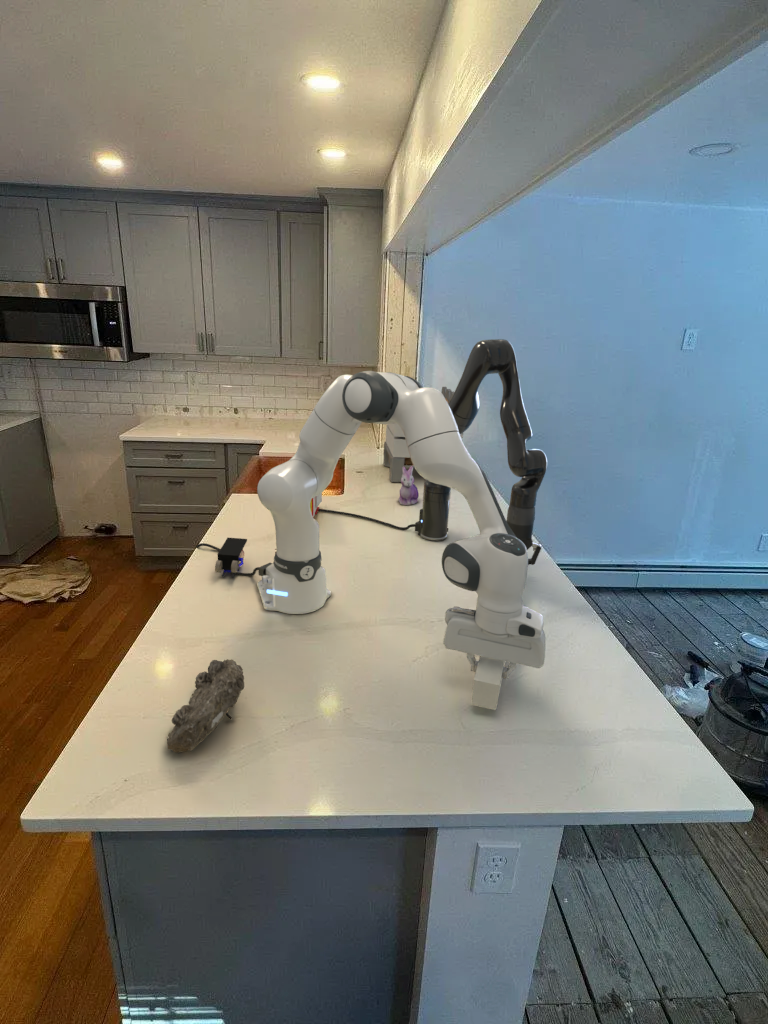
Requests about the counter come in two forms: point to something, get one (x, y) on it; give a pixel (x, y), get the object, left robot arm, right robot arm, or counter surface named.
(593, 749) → the counter surface
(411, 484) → the figurine
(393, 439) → the grey wooden crate
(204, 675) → the fossil
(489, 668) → the beam
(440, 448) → the left robot arm
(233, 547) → the black wheeled block
